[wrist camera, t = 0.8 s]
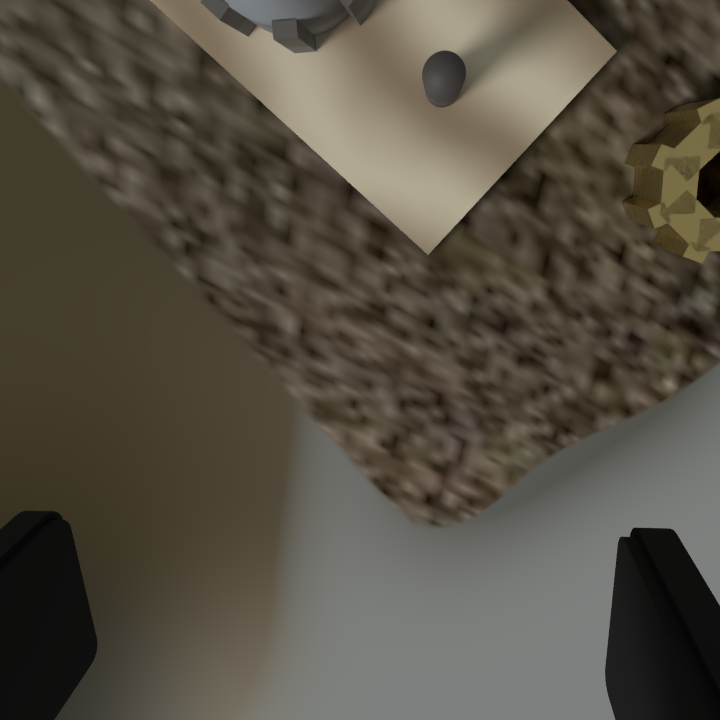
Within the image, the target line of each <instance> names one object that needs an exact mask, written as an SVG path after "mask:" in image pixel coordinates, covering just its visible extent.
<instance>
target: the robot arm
mask: <svg viewBox="0 0 720 720" xmlns="http://www.w3.org/2000/svg"><path fill="white" fill-rule="evenodd" d="M96 651H97V637H96V633H95V629H94V624H93V620H92V616H91V611H90V607H89V603H88V599H87V594H86V590H85V586H84V582H83V577H82V573H81V569H80V564H79V560H78V556H77V551H76V547H75V543H74V539H73V535H72V530H71V527H70V524H69V523H68V522H67V521H65V520H63V518H62V516H61V515H60V514H59V513H57V512H54V511H22V512H21V513H19V514H18V515H16V516H15V517H14V518H13V519H12V520H11V521H9V522H8V523H7V524H6V525H5V526H4V527H3V528H1V529H0V720H54V719H55V718H56V716H57V715H58V713H59V712H60V710H61V709H62V707H63V706H64V704H65V703H66V701H67V700H68V698H69V697H70V695H71V694H72V692H73V691H74V689H75V688H76V686H77V685H78V683H79V682H80V680H81V679H82V678H83V676H84V674H85V673H86V672H87V670H88V668H89V667H90V665H91V664H92V662H93V660H94V658H95V654H96ZM605 675H606V676H605V678H606V687H607V692H608V696H609V699H610V703H611V706H612V710H613V713H614V716H615V719H616V720H720V606H719V604H718V602H717V601H716V599H715V597H714V595H713V594H712V592H711V591H710V589H709V587H708V586H707V584H706V582H705V581H704V579H703V577H702V576H701V574H700V572H699V570H698V569H697V567H696V566H695V564H694V562H693V560H692V559H691V557H690V555H689V554H688V552H687V550H686V549H685V547H684V546H683V544H682V542H681V540H680V539H679V537H678V536H677V534H676V533H675V531H674V530H672V529H661V528H634V529H632V531H631V534H630V537H620V539H619V542H618V549H617V559H616V569H615V578H614V588H613V598H612V608H611V618H610V628H609V638H608V648H607V658H606V668H605Z"/></svg>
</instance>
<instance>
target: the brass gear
mask: <svg viewBox="0 0 720 720" xmlns="http://www.w3.org/2000/svg"><path fill="white" fill-rule="evenodd" d="M664 117H665V120H666V123H667V126H666V127H665V128H664V129H663V130H662V131H661V132H660V133H659V134H658V135H657V136H656V137H655V138H654V139H653V140H652V141H651V142H650V143H649V144H633V146H632V148H631V150H630V152H629V154H628V156H627V159H626V161H625V164H628V165H630V166H633V167H635V178H634V193H633V197H631V198H628V199H626V200H624V201H622V203H623V206H624V209H625V211H626V214H627V217H628V219H631V220H633V221H636V222H639V223H641V224H644V225H646V226H649V227H652V228H654V229H656V230H657V231H658V234H657V236H656V238H655V240H654V242H653V243H654V244H657V245H659V246H661V247H663V248H665V249H668V250H670V251H672V252H674V253H676V254H679V255H681V256H683V257H686V258H689V259H691V260H694V261H697V262H700V263H703V261H704V260H705V258H706V256H707V254H708V252H709V251H720V195H719V196H718V197H717V198H716V199H715V200H714V201H713V202H712V203H710V204H709V205H708V206H707V207H706V208H705V207H704V206H703V205H702V204H701V203H700V202H699V201H698V200H697V199H696V198H697V188H698V178H699V170H700V169H701V168H702V167H703V166H704V165H706V164H707V163H708V162H709V161H710V160H711V159H712V158H713V157H714V156H715V155H716V154H717V153H718V152H719V153H720V98H718V99H713V100H707V101H701V102H695V103H689V104H683V105H681V106H679V107H677V108H675V109H673V110H671V111H668V112H666V113H664Z"/></svg>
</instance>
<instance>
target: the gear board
mask: <svg viewBox="0 0 720 720" xmlns="http://www.w3.org/2000/svg"><path fill="white" fill-rule="evenodd" d="M150 1H151V2H153V3H154V4H155V5H156V6H157V7H158V8H159V9H160V10H161V11H162V12H164V13H165V14H166V15H167V16H168V17H169V18H170V19H171V20H172V21H173V22H174V23H176V24H177V25H178V26H179V27H180V28H181V29H182V30H183V31H184V32H185V33H186V34H188V35H189V36H190V37H191V38H192V39H193V40H194V41H195V42H196V43H197V44H198V45H200V46H201V47H202V48H203V49H204V50H205V51H206V52H207V53H208V54H209V55H210V56H212V57H213V58H214V59H215V60H216V61H217V62H218V63H219V64H220V65H221V66H222V67H224V68H225V69H226V70H227V71H228V72H229V73H230V74H231V75H232V76H233V77H234V78H236V79H237V80H238V81H239V82H240V83H241V84H242V85H243V86H244V87H245V88H246V89H248V90H249V91H250V92H251V93H252V94H253V95H254V96H255V97H256V98H257V99H258V100H260V101H261V102H262V103H263V104H264V105H265V106H266V107H267V108H268V109H269V110H270V111H272V112H273V113H274V114H275V115H276V116H277V117H278V118H279V119H280V120H281V121H283V122H284V123H285V124H286V125H287V126H288V127H289V128H290V129H291V130H292V131H293V132H295V133H296V134H297V135H298V136H299V137H300V138H301V139H302V140H303V141H304V142H305V143H307V144H308V145H309V146H310V147H311V148H312V149H313V150H314V151H315V152H316V153H317V154H319V155H320V156H321V157H322V158H323V159H324V160H325V161H326V162H327V163H328V164H329V165H331V166H332V167H333V168H334V169H335V170H336V171H337V172H338V173H339V174H340V175H341V176H343V177H344V178H345V179H346V180H347V181H348V182H349V183H350V184H351V185H352V186H353V187H355V188H356V189H357V190H358V191H359V192H360V193H361V194H362V195H363V196H364V197H365V198H367V199H368V200H369V201H370V202H371V203H372V204H373V205H374V206H375V207H376V208H377V209H379V210H380V211H381V212H382V213H383V214H384V215H385V216H386V217H387V218H388V219H389V220H391V221H392V222H393V223H394V224H395V225H396V226H397V227H398V228H399V229H400V230H401V231H403V232H404V233H405V234H406V235H407V236H408V237H409V238H410V239H411V240H412V241H414V242H415V243H416V244H417V245H418V246H419V247H420V248H421V249H422V250H423V251H424V252H426V253H427V254H429V253H430V252H431V251H432V250H433V249H434V248H435V247H436V246H437V245H438V244H439V243H440V241H441V240H442V239H443V238H444V237H445V236H446V235H447V234H448V233H449V232H450V231H451V230H452V229H453V227H454V226H455V225H456V224H457V223H458V222H459V221H460V220H461V219H462V218H463V217H464V216H465V215H466V213H467V212H468V211H469V210H470V209H471V208H472V207H473V206H474V205H475V204H476V203H477V202H478V201H479V199H480V198H481V197H482V196H483V195H484V194H485V193H486V192H487V191H488V190H489V189H490V188H491V187H492V185H493V184H494V183H495V182H496V181H497V180H498V179H499V178H500V177H501V176H502V175H503V174H504V173H505V171H506V170H507V169H508V168H509V167H510V166H511V165H512V164H513V163H514V162H515V161H516V160H517V158H518V157H519V156H520V155H521V154H522V153H523V152H524V151H525V150H526V149H527V148H528V147H529V146H530V144H531V143H532V142H533V141H534V140H535V139H536V138H537V137H538V136H539V135H540V134H541V133H542V132H543V130H544V129H545V128H546V127H547V126H548V125H549V124H550V123H551V122H552V121H553V120H554V119H555V118H556V116H557V115H558V114H559V113H560V112H561V111H562V110H563V109H564V108H565V107H566V106H567V105H568V104H569V102H570V101H571V100H572V99H573V98H574V97H575V96H576V95H577V94H578V93H579V92H580V91H581V90H582V88H583V87H584V86H585V85H586V84H587V83H588V82H589V81H590V80H591V79H592V78H593V77H594V76H595V74H596V73H597V72H598V71H599V70H600V69H601V68H602V67H603V66H604V65H605V64H606V63H607V61H608V60H609V59H610V58H611V57H612V56H613V55H614V54H615V53H616V52H617V51H616V50H615V49H614V48H613V47H612V46H611V45H610V43H609V42H608V41H607V40H606V39H605V38H604V37H603V36H602V35H601V34H600V33H599V32H598V31H597V30H596V29H595V28H594V27H593V26H592V25H591V24H590V23H589V22H588V21H587V20H586V19H585V18H584V17H583V16H582V15H581V14H580V13H579V12H578V11H577V10H576V9H575V7H574V6H573V5H572V4H571V3H570V2H569V1H568V0H150Z"/></svg>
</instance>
